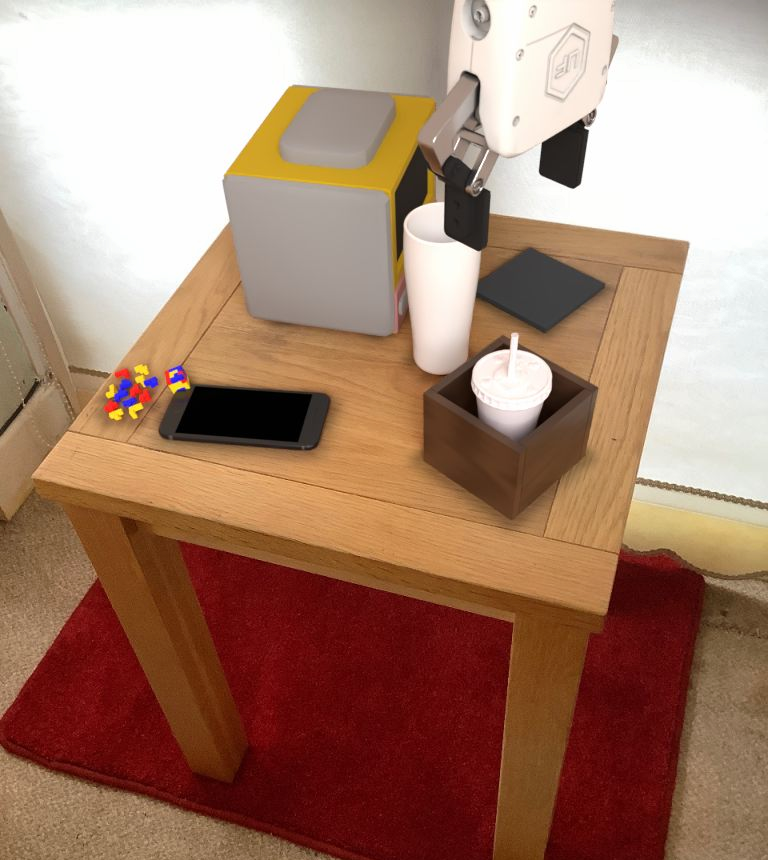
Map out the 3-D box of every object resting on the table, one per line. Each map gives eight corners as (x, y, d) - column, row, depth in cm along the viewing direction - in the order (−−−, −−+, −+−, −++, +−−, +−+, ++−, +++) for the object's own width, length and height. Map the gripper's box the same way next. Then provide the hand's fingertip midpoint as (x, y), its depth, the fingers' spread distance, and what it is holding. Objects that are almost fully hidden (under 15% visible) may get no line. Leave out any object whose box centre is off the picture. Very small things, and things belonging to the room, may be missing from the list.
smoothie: (459, 477, 75) (464, 350, 64) (476, 426, 79) (484, 298, 68) (533, 492, 73) (551, 364, 63) (547, 439, 77) (566, 311, 67)
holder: (585, 456, 76) (599, 387, 70) (512, 520, 72) (519, 453, 65) (497, 402, 81) (502, 334, 74) (423, 460, 76) (422, 392, 70)
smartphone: (179, 386, 84) (177, 379, 83) (333, 397, 82) (332, 390, 81) (156, 441, 79) (153, 434, 78) (317, 455, 77) (316, 448, 76)
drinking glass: (399, 378, 83) (394, 240, 72) (414, 333, 88) (412, 197, 76) (468, 387, 82) (475, 249, 71) (480, 342, 86) (488, 204, 75)
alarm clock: (398, 357, 85) (392, 182, 71) (247, 335, 88) (213, 163, 74) (442, 245, 97) (444, 77, 83) (307, 230, 100) (288, 64, 86)
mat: (604, 288, 91) (605, 283, 91) (545, 333, 87) (545, 328, 86) (529, 251, 96) (529, 247, 95) (469, 292, 92) (469, 288, 91)
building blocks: (105, 422, 80) (114, 434, 81) (185, 391, 80) (193, 403, 81) (101, 377, 84) (110, 389, 85) (177, 347, 84) (185, 359, 85)
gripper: (487, -27, 39) (470, 292, 52) (697, -122, 46) (637, 178, 59) (368, -63, 42) (381, 244, 55) (582, -146, 50) (549, 142, 63)
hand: (513, 210), depth 57 cm, fingers open, 9 cm apart
